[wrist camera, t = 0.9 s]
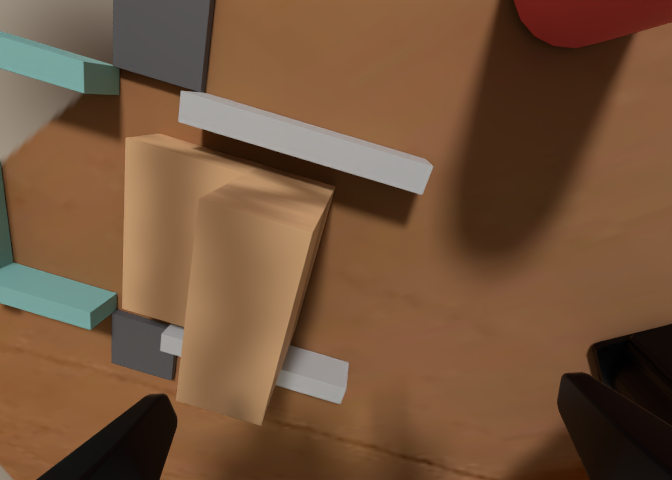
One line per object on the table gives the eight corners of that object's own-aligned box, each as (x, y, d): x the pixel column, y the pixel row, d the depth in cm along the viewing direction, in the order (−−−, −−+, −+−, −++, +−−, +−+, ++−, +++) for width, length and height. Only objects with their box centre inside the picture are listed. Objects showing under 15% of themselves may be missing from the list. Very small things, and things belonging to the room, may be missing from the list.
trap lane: (462, 62, 17) (480, 53, 14) (326, 421, 27) (321, 456, 24) (-61, -96, 17) (-148, -136, 14) (4, 325, 27) (-38, 350, 24)
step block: (335, 186, 20) (312, 232, 13) (295, 328, 24) (260, 425, 17) (160, 133, 20) (34, 149, 13) (151, 285, 24) (52, 363, 17)
